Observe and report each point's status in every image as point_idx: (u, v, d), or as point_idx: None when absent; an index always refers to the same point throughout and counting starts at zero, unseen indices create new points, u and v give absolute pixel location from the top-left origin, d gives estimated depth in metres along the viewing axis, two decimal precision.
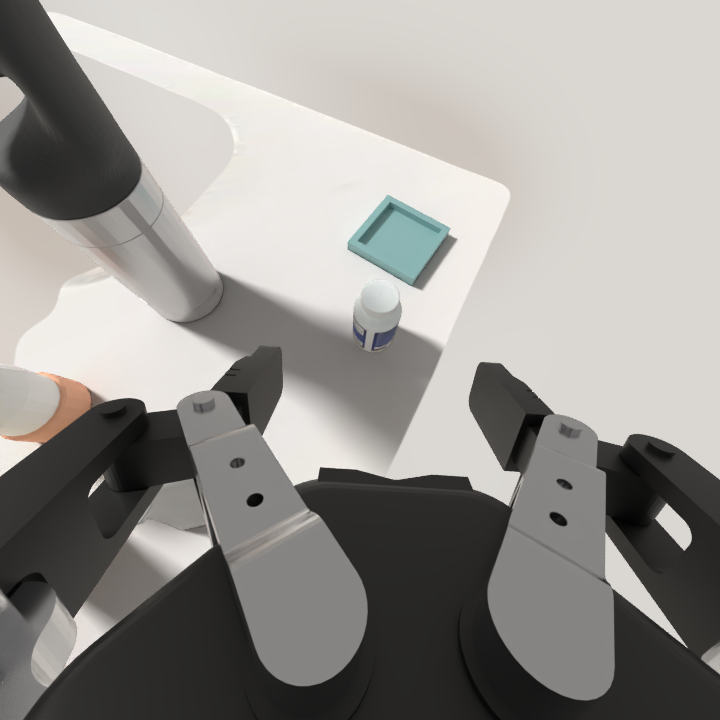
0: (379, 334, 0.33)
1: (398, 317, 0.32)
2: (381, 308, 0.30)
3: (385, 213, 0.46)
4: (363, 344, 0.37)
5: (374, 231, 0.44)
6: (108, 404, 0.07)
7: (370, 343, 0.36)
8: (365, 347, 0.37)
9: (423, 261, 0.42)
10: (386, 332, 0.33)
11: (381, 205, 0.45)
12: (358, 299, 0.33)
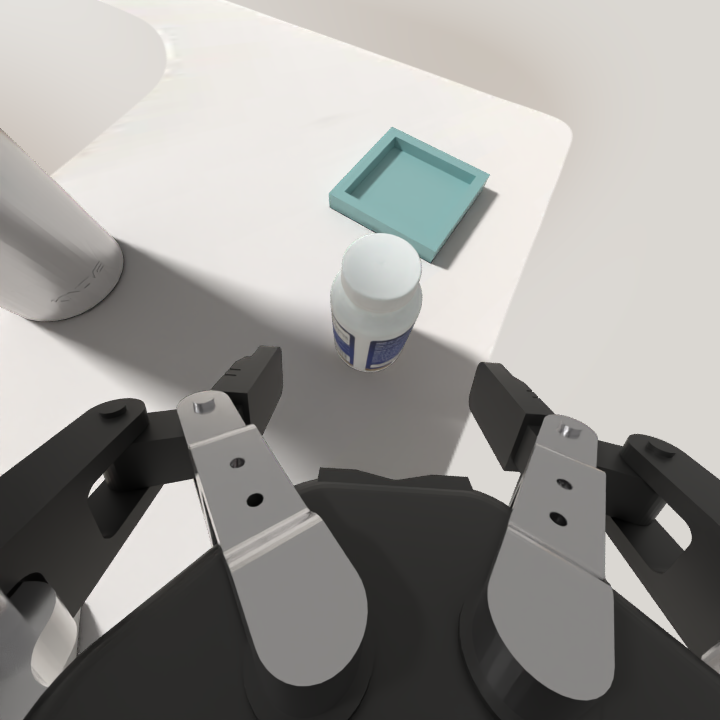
0: (380, 343, 0.17)
1: (416, 311, 0.16)
2: (383, 290, 0.14)
3: (388, 155, 0.30)
4: (351, 359, 0.21)
5: (371, 180, 0.29)
6: (108, 404, 0.07)
7: (363, 359, 0.20)
8: (355, 364, 0.21)
9: (449, 223, 0.26)
10: (392, 340, 0.17)
11: (382, 141, 0.29)
12: (338, 276, 0.17)
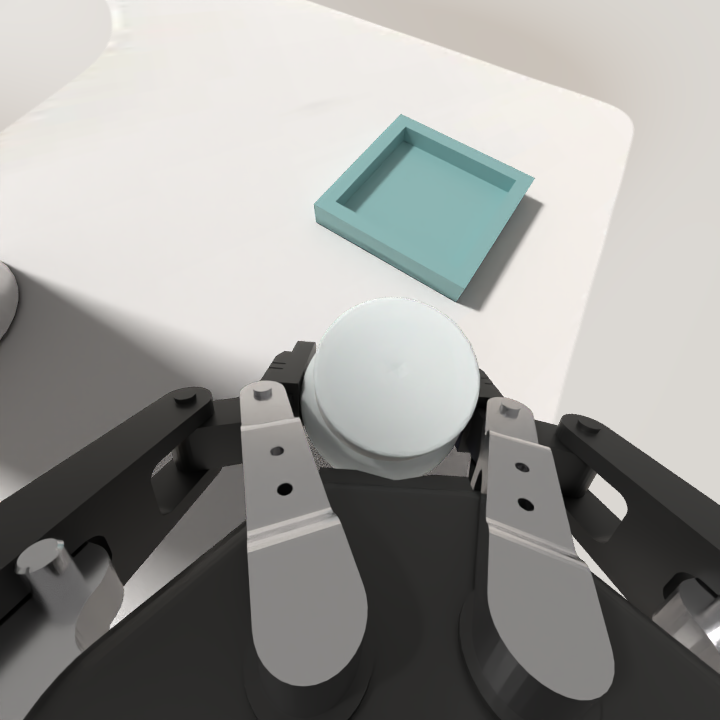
0: None
1: None
2: (402, 434, 0.06)
3: (395, 151, 0.22)
4: None
5: (373, 186, 0.21)
6: (182, 391, 0.08)
7: None
8: None
9: (483, 247, 0.19)
10: None
11: (387, 133, 0.22)
12: None
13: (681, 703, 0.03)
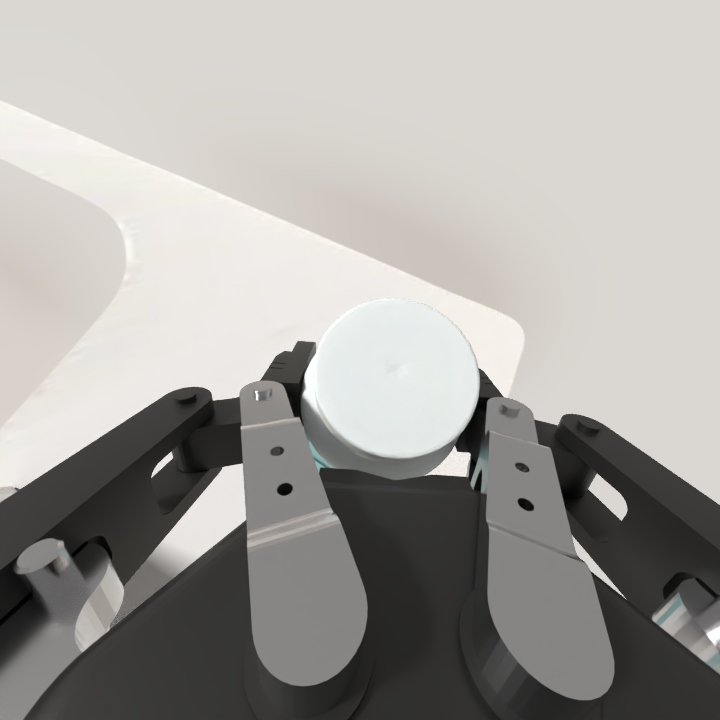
0: None
1: None
2: (402, 436, 0.06)
3: None
4: None
5: None
6: (182, 391, 0.08)
7: None
8: None
9: None
10: None
11: None
12: None
13: (681, 703, 0.03)
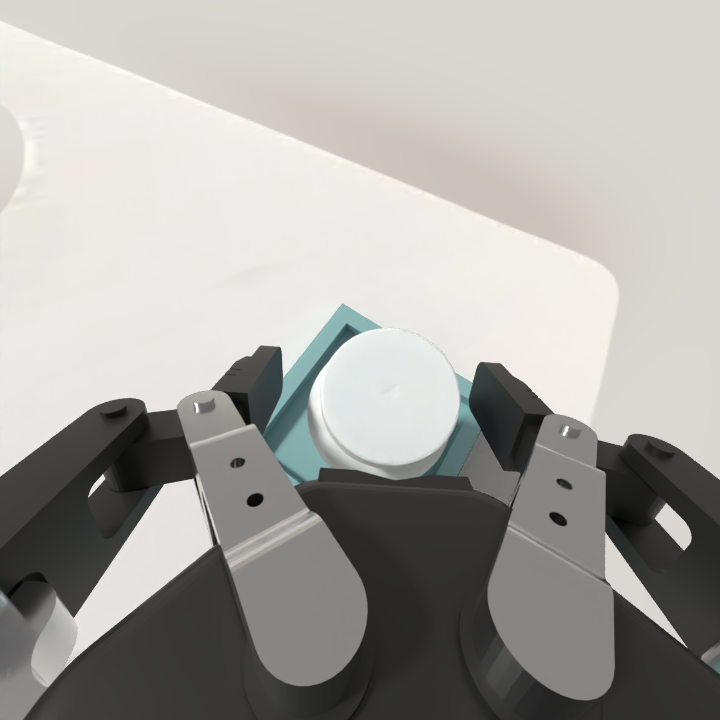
0: None
1: None
2: (394, 446, 0.08)
3: (336, 347, 0.19)
4: None
5: (306, 402, 0.18)
6: (109, 404, 0.07)
7: None
8: None
9: None
10: None
11: (324, 334, 0.18)
12: (320, 382, 0.11)
13: (687, 701, 0.03)
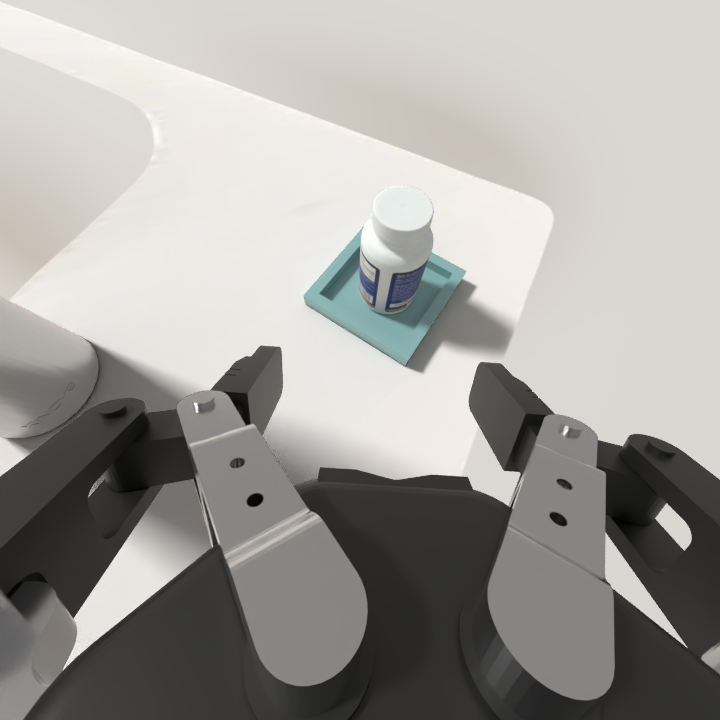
0: (399, 276, 0.22)
1: (429, 249, 0.21)
2: (405, 225, 0.19)
3: None
4: (374, 300, 0.26)
5: (348, 276, 0.29)
6: (108, 404, 0.07)
7: (384, 296, 0.24)
8: (377, 305, 0.26)
9: (423, 327, 0.26)
10: (409, 274, 0.22)
11: (359, 236, 0.29)
12: (367, 223, 0.22)
13: (687, 700, 0.03)
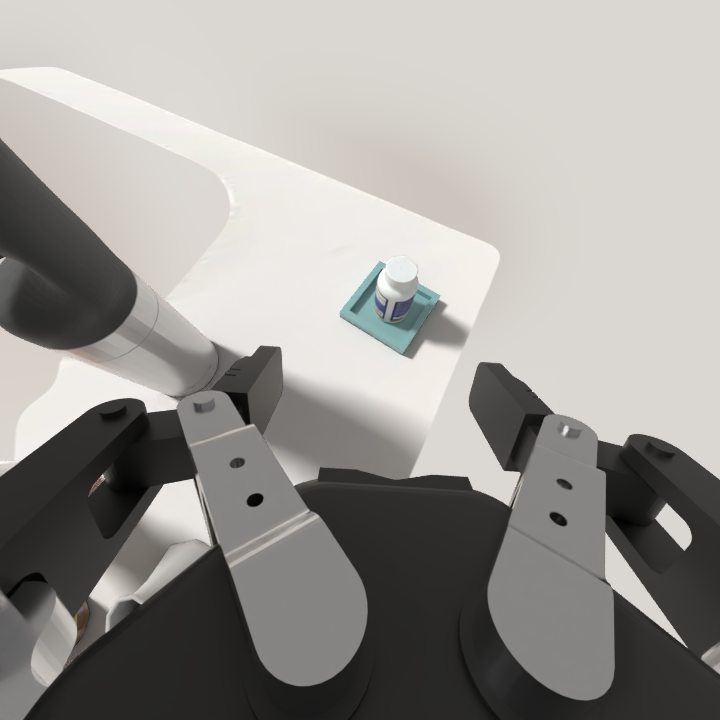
0: (399, 303, 0.39)
1: (415, 288, 0.38)
2: (402, 279, 0.35)
3: (377, 279, 0.47)
4: (383, 315, 0.42)
5: (366, 298, 0.46)
6: (108, 404, 0.07)
7: (390, 313, 0.41)
8: (385, 318, 0.43)
9: (413, 331, 0.43)
10: (404, 302, 0.39)
11: (373, 272, 0.46)
12: (381, 273, 0.38)
13: (686, 700, 0.03)
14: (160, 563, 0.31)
